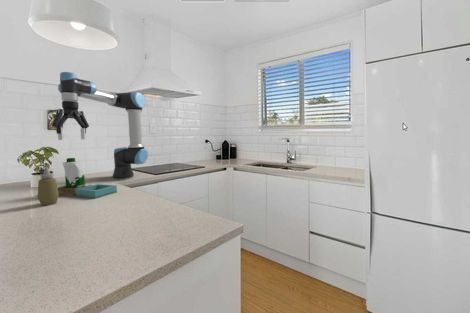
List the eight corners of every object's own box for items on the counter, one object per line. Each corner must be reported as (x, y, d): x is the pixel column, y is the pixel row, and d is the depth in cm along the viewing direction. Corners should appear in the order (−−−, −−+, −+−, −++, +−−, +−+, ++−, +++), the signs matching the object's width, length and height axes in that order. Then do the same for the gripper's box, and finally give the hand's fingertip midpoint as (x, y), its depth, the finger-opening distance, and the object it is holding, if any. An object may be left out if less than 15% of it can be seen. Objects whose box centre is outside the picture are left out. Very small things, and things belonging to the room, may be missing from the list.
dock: (76, 190, 143) (76, 183, 142) (92, 191, 139) (91, 184, 138) (57, 194, 132) (56, 187, 132) (73, 196, 128) (73, 189, 128)
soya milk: (76, 190, 141) (73, 157, 139) (89, 191, 139) (87, 157, 137) (62, 194, 133) (60, 159, 131) (76, 195, 131) (74, 159, 129)
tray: (98, 190, 141) (97, 183, 141) (116, 192, 137) (116, 185, 136) (76, 196, 128) (75, 189, 128) (95, 198, 123) (95, 191, 123)
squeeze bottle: (58, 200, 120) (55, 165, 119) (60, 203, 115) (58, 166, 113) (37, 203, 115) (34, 167, 113) (39, 207, 109) (36, 168, 107)
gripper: (84, 104, 144) (86, 139, 146) (41, 98, 120) (44, 140, 122) (94, 103, 142) (96, 139, 144) (52, 97, 118) (55, 140, 120)
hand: (72, 139), depth 133 cm, fingers open, 13 cm apart
